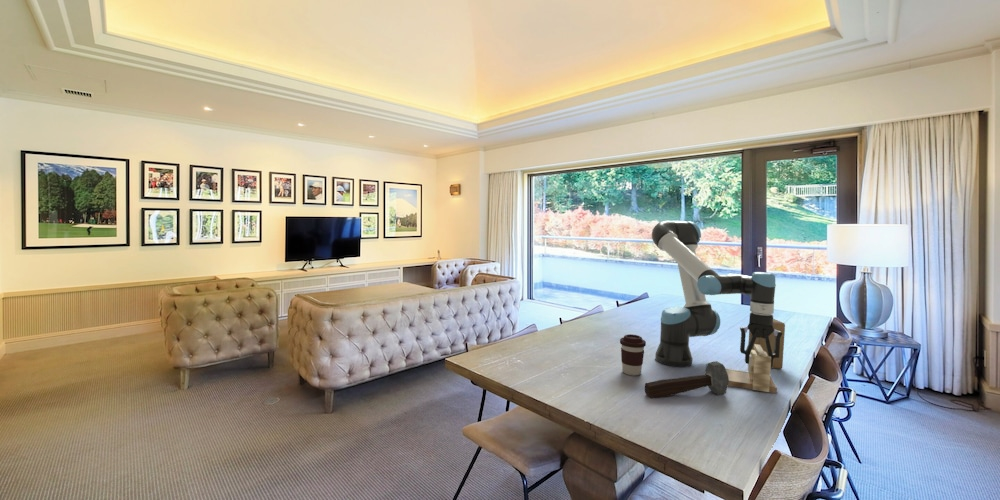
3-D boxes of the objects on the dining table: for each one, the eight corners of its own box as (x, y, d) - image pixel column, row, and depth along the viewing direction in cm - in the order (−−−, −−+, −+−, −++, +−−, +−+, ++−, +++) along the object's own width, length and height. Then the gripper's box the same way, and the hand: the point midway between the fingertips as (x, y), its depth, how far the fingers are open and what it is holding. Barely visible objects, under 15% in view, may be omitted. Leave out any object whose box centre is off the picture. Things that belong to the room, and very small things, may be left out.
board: (714, 383, 154) (714, 378, 154) (712, 371, 167) (712, 366, 167) (776, 393, 146) (776, 387, 146) (769, 379, 159) (769, 374, 158)
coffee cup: (648, 372, 165) (650, 336, 163) (638, 379, 157) (639, 341, 156) (625, 366, 171) (626, 331, 170) (614, 372, 164) (615, 336, 163)
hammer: (651, 409, 140) (729, 394, 144) (648, 378, 139) (727, 364, 143) (644, 403, 145) (720, 388, 149) (641, 373, 144) (718, 359, 148)
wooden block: (770, 361, 180) (772, 317, 178) (783, 369, 170) (786, 323, 168) (746, 360, 181) (748, 316, 179) (758, 368, 171) (761, 322, 169)
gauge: (752, 389, 148) (755, 354, 147) (747, 376, 161) (749, 343, 160) (769, 392, 146) (771, 356, 145) (762, 378, 159) (764, 345, 158)
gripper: (735, 312, 153) (731, 372, 154) (792, 318, 145) (788, 380, 147) (733, 308, 160) (730, 366, 161) (788, 313, 152) (784, 373, 154)
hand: (757, 373), depth 154 cm, fingers closed on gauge, 5 cm apart
